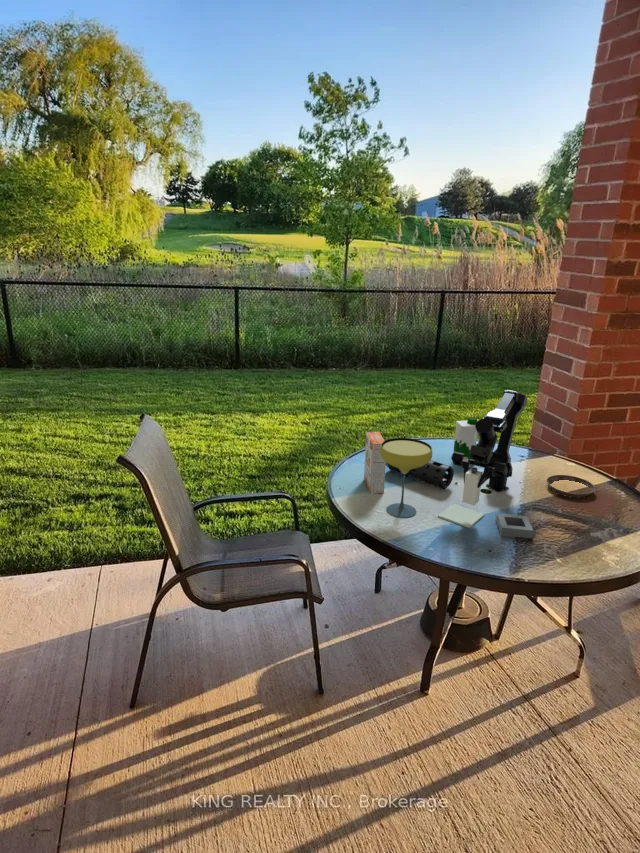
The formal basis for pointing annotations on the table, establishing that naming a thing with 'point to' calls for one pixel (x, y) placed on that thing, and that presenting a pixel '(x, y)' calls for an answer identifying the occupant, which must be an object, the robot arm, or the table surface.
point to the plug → (471, 486)
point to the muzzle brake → (430, 473)
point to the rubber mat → (461, 515)
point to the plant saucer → (570, 478)
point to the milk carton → (465, 436)
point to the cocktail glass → (405, 465)
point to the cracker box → (374, 463)
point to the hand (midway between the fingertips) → (471, 485)
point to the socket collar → (520, 528)
